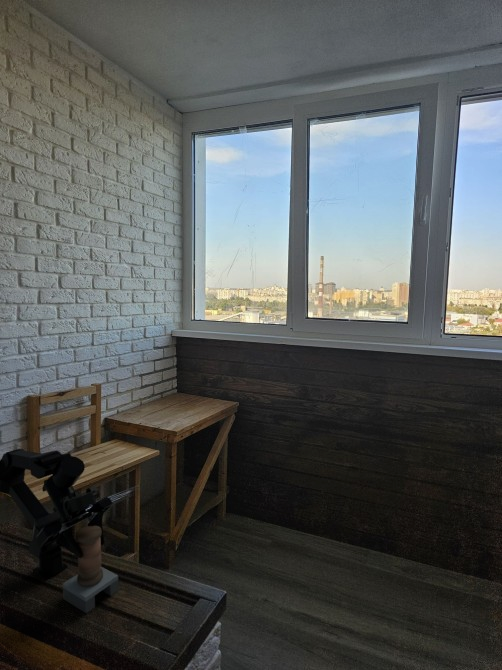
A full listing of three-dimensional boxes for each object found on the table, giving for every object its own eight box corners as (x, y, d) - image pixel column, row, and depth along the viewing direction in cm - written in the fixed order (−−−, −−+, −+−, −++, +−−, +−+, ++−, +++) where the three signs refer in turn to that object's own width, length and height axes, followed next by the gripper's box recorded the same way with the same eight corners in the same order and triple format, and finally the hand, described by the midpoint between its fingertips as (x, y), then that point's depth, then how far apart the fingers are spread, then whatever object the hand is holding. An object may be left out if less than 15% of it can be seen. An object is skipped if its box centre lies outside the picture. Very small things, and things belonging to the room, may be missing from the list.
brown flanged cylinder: (72, 578, 106) (70, 532, 105) (95, 567, 111) (93, 522, 110) (85, 589, 102) (83, 541, 101) (107, 576, 107) (106, 531, 106)
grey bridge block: (63, 598, 106) (62, 583, 105) (95, 577, 113) (95, 563, 113) (86, 613, 101) (85, 597, 100) (118, 590, 109) (118, 575, 108)
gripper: (40, 494, 99) (71, 555, 94) (107, 467, 114) (137, 518, 109) (23, 517, 104) (52, 577, 99) (89, 488, 119) (117, 538, 114)
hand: (92, 550), depth 105 cm, fingers open, 6 cm apart
